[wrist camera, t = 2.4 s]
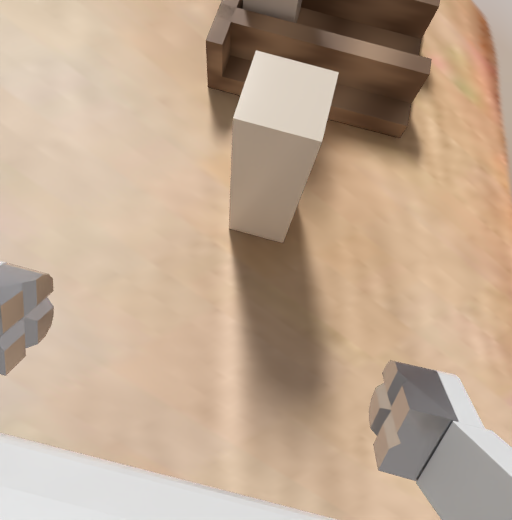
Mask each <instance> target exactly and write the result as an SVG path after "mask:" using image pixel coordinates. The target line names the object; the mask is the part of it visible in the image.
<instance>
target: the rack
mask: <svg viewBox="0 0 512 520" xmlns="http://www.w3.org/2000/svg"><path fill="white" fill-rule="evenodd" d="M439 3H440V0H302V3H301V9H300V14H299V17H298V20H297V23H293V22H290V21H286V20H282V19H278V18H274V17H271V16H267V15H263V14H259V13H256V12H252V11H248V10H244V9H243V0H222V1H221V4H220V6H219V9H218V11H217V14H216V16H215V19H214V21H213V24H212V26H211V29H210V31H209V34H208V36H207V39H206V54H207V75H208V87H210V88H214V89H218V90H222V91H225V92H229V93H233V94H237V95H240V96H241V93H242V90H243V87H244V84H245V81H246V78H247V75H248V72H249V69H250V66H251V64H252V61H253V58H254V55H255V52H256V50H257V51H261V52H264V53H268V54H272V55H276V56H279V57H283V58H287V59H291V60H294V61H298V62H302V63H306V64H309V65H313V66H317V67H321V68H324V69H328V70H332V71H336V72H339V74H338V78H337V82H336V86H335V90H334V94H333V99H332V103H331V107H330V111H329V115H328V119H330V120H334V121H338V122H341V123H345V124H349V125H353V126H356V127H360V128H364V129H368V130H371V131H375V132H379V133H383V134H386V135H390V136H394V137H398V138H400V136H401V135H402V133H403V132H404V131H405V129H406V128H407V126H408V120H409V113H410V107H411V103H412V101H413V100H414V98H415V96H416V95H417V93H418V92H419V90H420V89H421V87H422V85H423V84H424V82H425V81H426V79H427V78H428V76H429V74H430V67H431V60H432V59H429V58H426V57H422V56H419V49H420V43H421V38H422V37H423V35H424V33H425V31H426V29H427V27H428V26H429V24H430V22H431V20H432V18H433V17H434V15H435V13H436V11H437V9H438V7H439Z"/></svg>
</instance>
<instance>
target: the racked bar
mask: <svg viewBox="0 0 512 520" xmlns="http://www.w3.org/2000/svg"><path fill="white" fill-rule="evenodd" d="M301 3H302V0H243V9H244V10H248V11H252V12H256V13H259V14H263V15H267V16H271V17H274V18H278V19H282V20H286V21H290V22H293V23H297V20H298V17H299V14H300V9H301Z"/></svg>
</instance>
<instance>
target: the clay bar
mask: <svg viewBox="0 0 512 520" xmlns="http://www.w3.org/2000/svg"><path fill="white" fill-rule="evenodd" d="M338 74H339V72H336V71H332V70H328V69H324V68H321V67H317V66H313V65H309V64H306V63H302V62H298V61H294V60H291V59H287V58H283V57H279V56H276V55H272V54H268V53H264V52H261V51H257V50H256V52H255V55H254V58H253V61H252V64H251V66H250V69H249V72H248V75H247V78H246V81H245V84H244V87H243V90H242V93H241V96H240V99H239V102H238V105H237V108H236V110H235V113H234V116H233V129H232V156H231V184H230V211H229V229H233V230H236V231H240V232H244V233H248V234H251V235H255V236H259V237H262V238H266V239H270V240H273V241H277V242H281V243H283V242H284V239H285V236H286V234H287V231H288V229H289V226H290V224H291V221H292V218H293V216H294V213H295V211H296V208H297V205H298V203H299V200H300V198H301V195H302V192H303V190H304V187H305V185H306V182H307V180H308V177H309V174H310V172H311V169H312V167H313V164H314V161H315V159H316V156H317V154H318V151H319V148H320V146H321V143H322V140H323V136H324V132H325V128H326V123H327V119H328V115H329V111H330V107H331V103H332V99H333V94H334V90H335V86H336V82H337V78H338Z"/></svg>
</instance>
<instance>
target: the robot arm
mask: <svg viewBox="0 0 512 520" xmlns="http://www.w3.org/2000/svg"><path fill="white" fill-rule="evenodd" d="M52 292H53V278H52V277H51V276H50V275H49V274H47V273H43V272H39V271H36V270H32V269H28V268H25V267H21V266H17V265H14V264H10V263H9V264H8V263H6V262H2V261H0V374H2V375H7V374H8V373H9V372H10V371H11V370H12V369H13V368H14V367H15V366H16V365H17V364H18V363H19V362H20V361H21V360H22V359H23V358H24V357H25V356H26V351H25V348H28V347H31V346H33V345H36V344H38V343H39V342H40V341H41V340H42V339H43V338H44V337H45V336H46V334H47V332H48V330H49V328H50V327H51V324H52V320H53V313H54V307H53V305H52V304H51V302H50V301H49V299H48V298H47V297H48V296H49V295H50V294H51V293H52ZM382 375H383V379H384V383H383V384H381V385H379V386H378V387H376V388H375V390H374V393H373V395H372V398H371V402H370V407H369V422H370V428H371V429H372V431H373V432H374V433H375V434H376V435H377V438H376V440H375V442H374V444H373V446H374V451H375V456H376V462H377V467H378V470H379V471H382V472H386V473H389V474H393V475H396V476H400V477H403V478H407V479H411V480H414V481H417V482H416V484H417V485H418V486H419V488H420V489H421V491H422V492H423V494H424V495H425V496H426V498H427V499H428V501H429V502H430V504H431V505H432V506H433V508H434V509H435V511H436V512H437V514H438V515H439V516H440V518H441V519H442V520H512V447H510V446H509V445H508V444H507V443H506V442H505V441H503V440H502V439H501V438H500V437H499V436H498V435H497V434H495V433H494V432H493V431H491V430H487V429H485V428H484V426H483V424H482V422H481V420H480V418H479V416H478V414H477V412H476V410H475V408H474V406H473V404H472V402H471V400H470V398H469V396H468V394H467V392H466V390H465V388H464V386H463V384H462V382H461V380H460V378H459V377H457V376H456V375H455V374H451V373H446V372H442V371H437V370H431V369H426V368H422V367H418V366H413V365H409V364H405V363H401V362H396V361H392V360H390V361H389V362H388V363H387V365H386V366H385V368H384V371H383V373H382ZM0 520H338V519H334V518H330V517H326V516H322V515H318V514H314V513H311V512H307V511H303V510H299V509H295V508H291V507H287V506H284V505H280V504H276V503H272V502H268V501H264V500H260V499H257V498H253V497H249V496H245V495H241V494H237V493H233V492H230V491H226V490H222V489H218V488H214V487H210V486H206V485H202V484H199V483H195V482H191V481H187V480H183V479H179V478H175V477H171V476H167V475H163V474H160V473H156V472H152V471H148V470H144V469H140V468H136V467H132V466H128V465H124V464H121V463H117V462H113V461H109V460H105V459H101V458H97V457H93V456H89V455H85V454H82V453H78V452H74V451H70V450H66V449H62V448H58V447H54V446H50V445H47V444H43V443H39V442H35V441H31V440H27V439H23V438H19V437H15V436H12V435H8V434H4V433H0Z"/></svg>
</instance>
